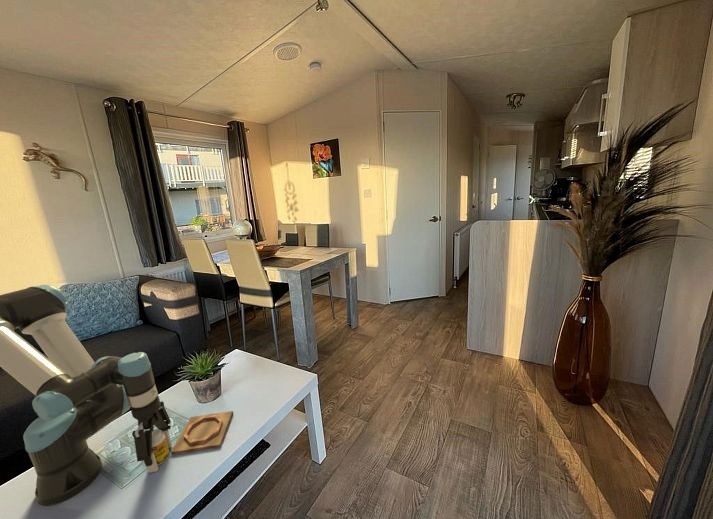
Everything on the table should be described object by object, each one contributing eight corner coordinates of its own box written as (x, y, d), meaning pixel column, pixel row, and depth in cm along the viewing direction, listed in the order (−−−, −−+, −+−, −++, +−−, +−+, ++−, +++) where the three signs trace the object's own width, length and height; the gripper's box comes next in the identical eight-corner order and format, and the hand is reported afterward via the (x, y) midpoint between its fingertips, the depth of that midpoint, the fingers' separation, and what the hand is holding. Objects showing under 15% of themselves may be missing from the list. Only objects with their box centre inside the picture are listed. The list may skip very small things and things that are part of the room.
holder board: (171, 455, 100) (169, 449, 99) (191, 419, 115) (189, 415, 115) (220, 447, 102) (219, 442, 101) (233, 413, 117) (232, 408, 117)
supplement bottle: (150, 470, 95) (142, 444, 92) (150, 457, 99) (143, 432, 97) (170, 460, 98) (163, 435, 95) (169, 449, 102) (163, 424, 100)
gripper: (137, 424, 83) (155, 487, 89) (172, 378, 104) (186, 431, 109) (108, 428, 83) (129, 491, 88) (150, 381, 103) (164, 435, 108)
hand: (160, 458), depth 99 cm, fingers open, 8 cm apart
